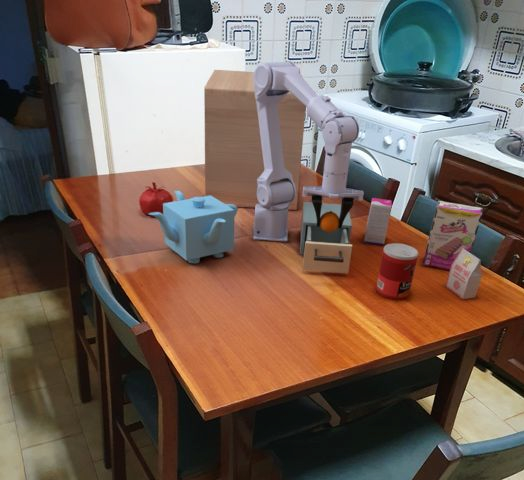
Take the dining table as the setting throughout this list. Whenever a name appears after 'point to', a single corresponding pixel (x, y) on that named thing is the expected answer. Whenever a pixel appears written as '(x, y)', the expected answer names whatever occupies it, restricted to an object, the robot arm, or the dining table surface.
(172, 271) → the dining table surface
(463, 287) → the white box
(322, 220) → the orange
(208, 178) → the storage cube
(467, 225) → the candy bar box
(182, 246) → the teakettle
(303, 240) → the cabinet
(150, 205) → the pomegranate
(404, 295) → the canned food
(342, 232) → the drawer
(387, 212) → the supplement box
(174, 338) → the dining table surface
